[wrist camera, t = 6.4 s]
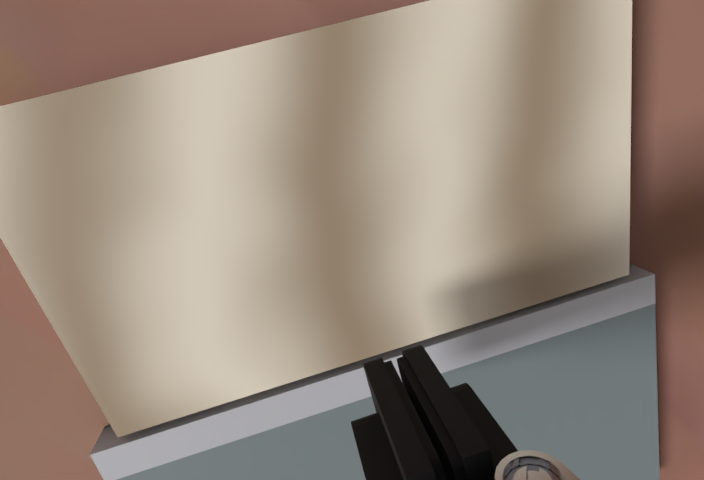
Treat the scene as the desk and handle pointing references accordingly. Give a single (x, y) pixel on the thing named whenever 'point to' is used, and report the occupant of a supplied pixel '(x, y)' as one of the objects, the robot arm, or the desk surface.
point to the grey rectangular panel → (456, 368)
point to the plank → (321, 196)
